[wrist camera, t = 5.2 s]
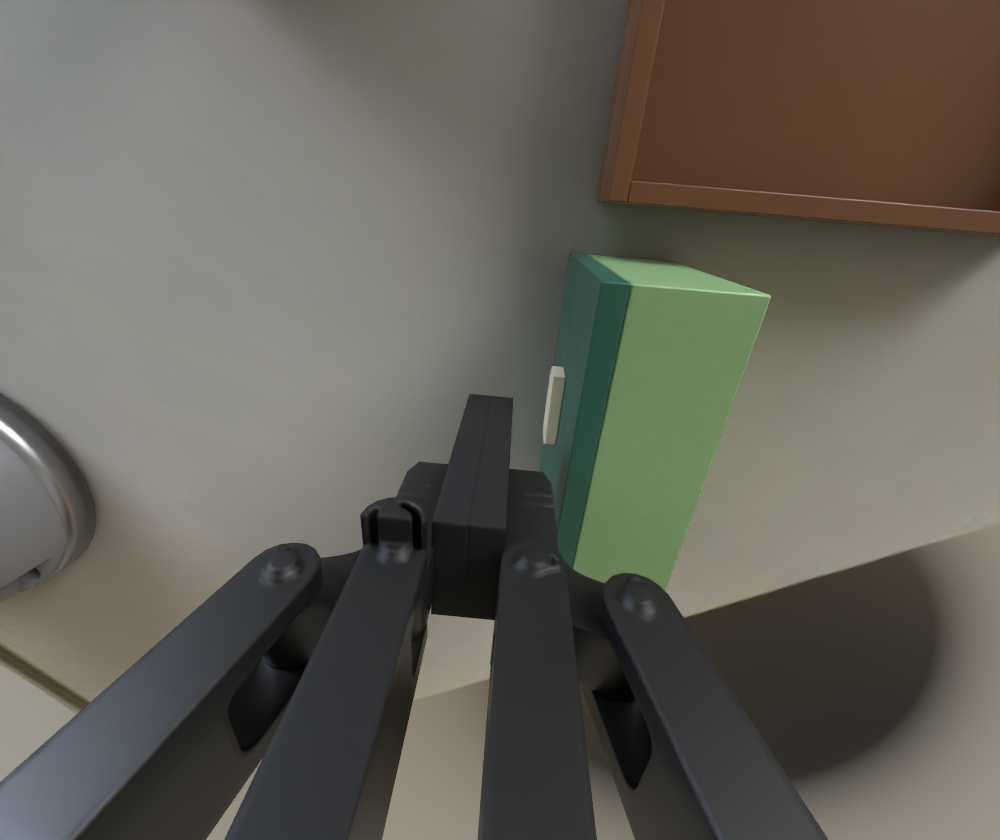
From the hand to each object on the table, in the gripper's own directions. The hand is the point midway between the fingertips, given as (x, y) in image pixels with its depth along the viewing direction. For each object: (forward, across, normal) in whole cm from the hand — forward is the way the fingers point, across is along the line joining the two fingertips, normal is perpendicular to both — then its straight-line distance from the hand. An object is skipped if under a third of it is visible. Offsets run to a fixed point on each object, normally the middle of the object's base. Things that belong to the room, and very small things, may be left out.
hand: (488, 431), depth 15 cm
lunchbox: (+7, +5, 0) cm, 8 cm away
